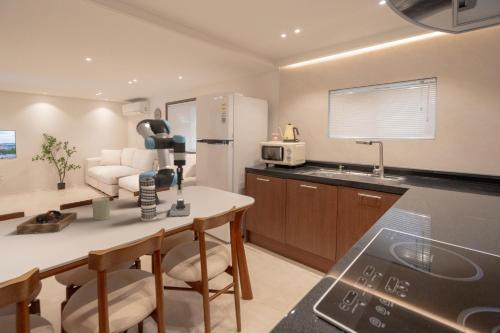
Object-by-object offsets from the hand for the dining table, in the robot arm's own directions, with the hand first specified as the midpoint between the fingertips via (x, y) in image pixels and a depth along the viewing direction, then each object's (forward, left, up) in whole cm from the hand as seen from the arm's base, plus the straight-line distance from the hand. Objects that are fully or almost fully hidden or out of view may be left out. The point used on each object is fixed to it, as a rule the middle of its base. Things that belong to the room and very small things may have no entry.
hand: (180, 192), depth 170 cm
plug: (0, 0, -13) cm, 13 cm away
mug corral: (-69, -14, -13) cm, 72 cm away
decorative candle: (-18, -10, -13) cm, 25 cm away
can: (-46, -4, -13) cm, 48 cm away
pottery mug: (-71, -10, -14) cm, 73 cm away
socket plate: (0, 0, -13) cm, 13 cm away
